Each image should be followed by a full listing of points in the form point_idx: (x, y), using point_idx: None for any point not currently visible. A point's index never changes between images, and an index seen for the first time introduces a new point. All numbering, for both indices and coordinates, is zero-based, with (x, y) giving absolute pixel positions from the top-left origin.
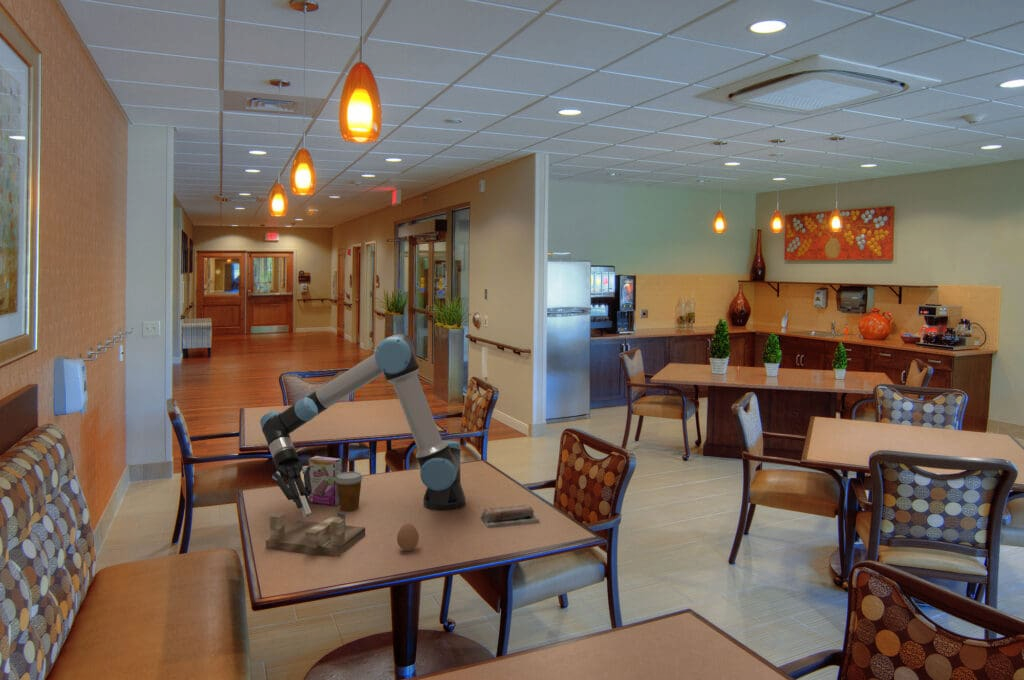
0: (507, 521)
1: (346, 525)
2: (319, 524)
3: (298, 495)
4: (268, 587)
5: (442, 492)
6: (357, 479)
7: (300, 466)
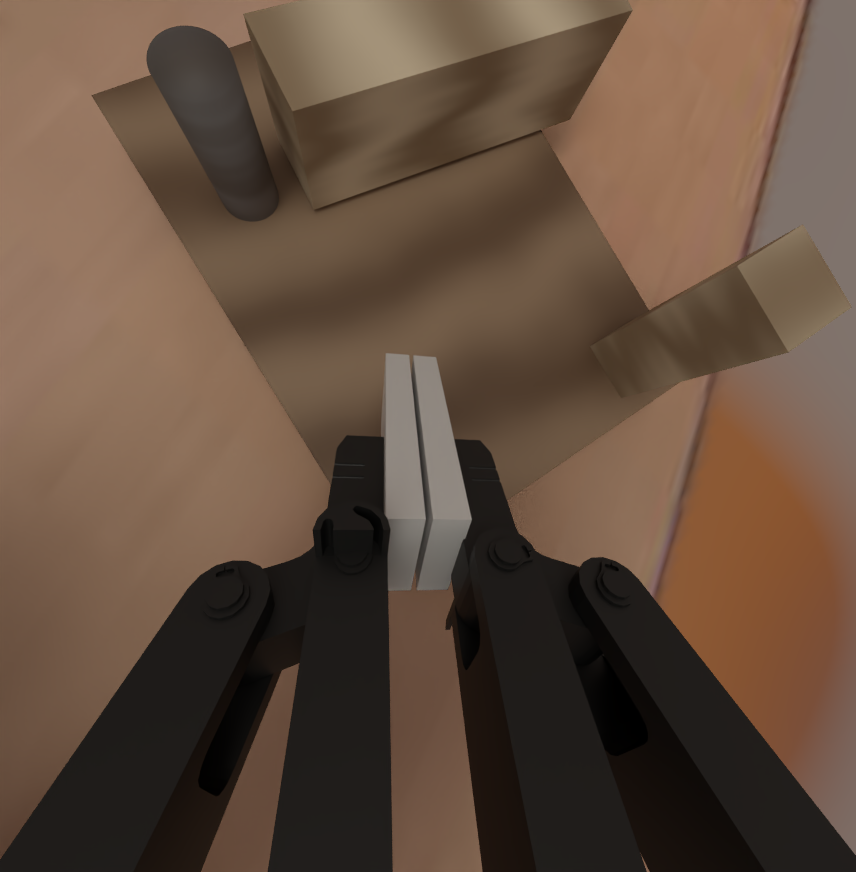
0: None
1: (175, 228)
2: (487, 38)
3: (492, 541)
4: (772, 28)
5: None
6: None
7: None
